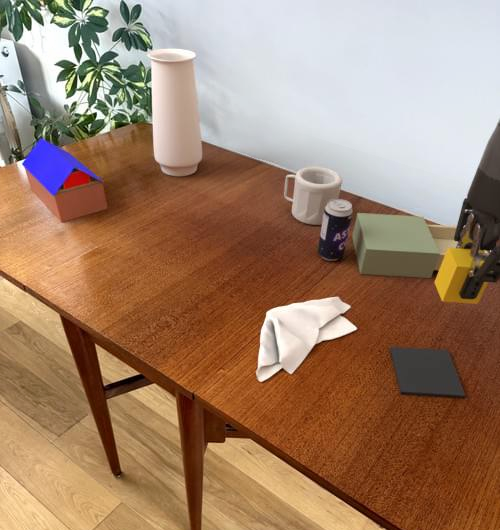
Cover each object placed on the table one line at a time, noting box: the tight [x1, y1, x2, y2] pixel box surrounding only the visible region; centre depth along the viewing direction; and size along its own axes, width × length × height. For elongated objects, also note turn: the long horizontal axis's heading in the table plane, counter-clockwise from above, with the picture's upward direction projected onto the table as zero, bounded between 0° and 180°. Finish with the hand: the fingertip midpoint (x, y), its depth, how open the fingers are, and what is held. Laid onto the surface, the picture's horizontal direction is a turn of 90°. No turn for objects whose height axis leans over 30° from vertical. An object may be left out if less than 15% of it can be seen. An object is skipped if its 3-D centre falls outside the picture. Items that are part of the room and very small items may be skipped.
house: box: [21, 137, 108, 223], centre depth 110 cm, size 12×20×12 cm, turn 38°
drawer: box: [426, 223, 489, 271], centre depth 99 cm, size 18×13×4 cm
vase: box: [147, 48, 203, 177], centre depth 119 cm, size 13×13×28 cm
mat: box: [389, 346, 466, 399], centre depth 76 cm, size 10×10×1 cm
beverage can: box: [317, 198, 354, 262], centre depth 96 cm, size 6×6×12 cm
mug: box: [283, 166, 343, 226], centre depth 110 cm, size 14×11×10 cm
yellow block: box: [433, 248, 493, 305], centre depth 64 cm, size 5×4×6 cm
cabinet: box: [351, 212, 440, 279], centre depth 99 cm, size 15×15×6 cm
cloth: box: [255, 296, 358, 383], centre depth 81 cm, size 26×14×2 cm, turn 130°
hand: (461, 285), depth 65 cm, fingers closed on yellow block, 4 cm apart
